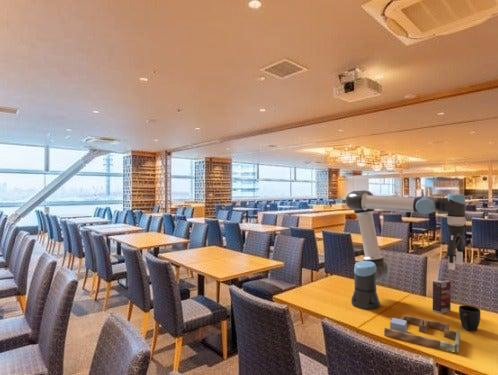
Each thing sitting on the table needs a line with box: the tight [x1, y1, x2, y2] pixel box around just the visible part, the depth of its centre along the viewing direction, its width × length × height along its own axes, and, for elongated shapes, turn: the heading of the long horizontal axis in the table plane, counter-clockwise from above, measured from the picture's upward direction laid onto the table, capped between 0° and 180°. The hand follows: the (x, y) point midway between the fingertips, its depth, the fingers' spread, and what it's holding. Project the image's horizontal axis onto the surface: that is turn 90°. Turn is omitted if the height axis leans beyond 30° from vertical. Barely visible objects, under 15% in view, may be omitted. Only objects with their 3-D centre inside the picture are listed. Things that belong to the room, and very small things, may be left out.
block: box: [389, 317, 408, 333], centre depth 146 cm, size 6×6×5 cm
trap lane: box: [383, 314, 461, 354], centre depth 144 cm, size 28×21×4 cm
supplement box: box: [432, 279, 452, 314], centre depth 170 cm, size 9×5×16 cm, turn 116°
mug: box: [458, 304, 481, 332], centre depth 148 cm, size 8×12×10 cm
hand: (455, 266), depth 161 cm, fingers open, 13 cm apart
